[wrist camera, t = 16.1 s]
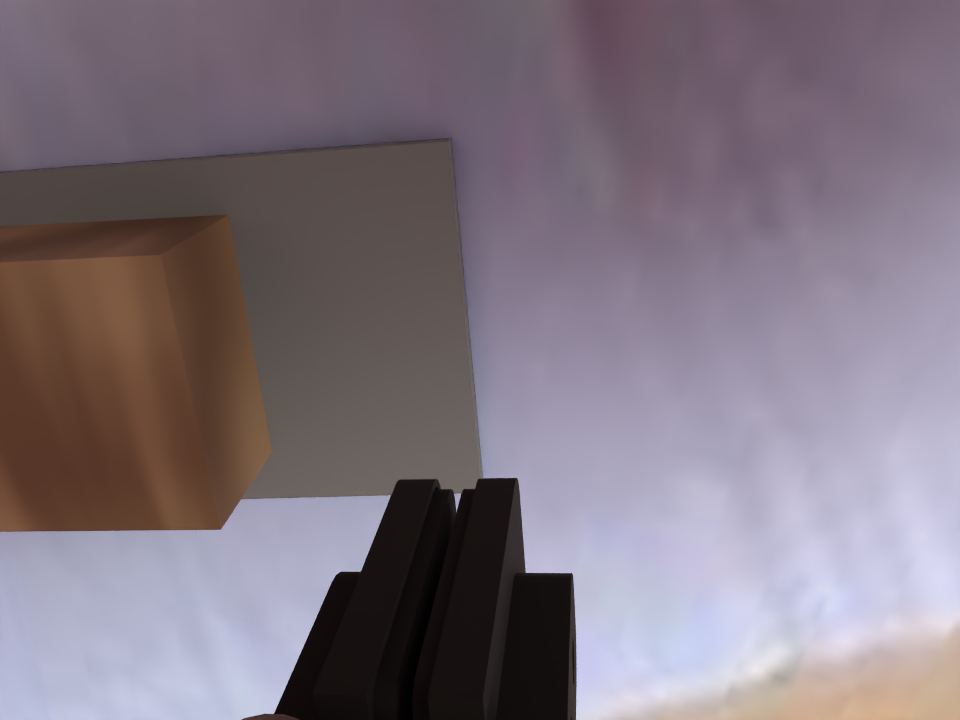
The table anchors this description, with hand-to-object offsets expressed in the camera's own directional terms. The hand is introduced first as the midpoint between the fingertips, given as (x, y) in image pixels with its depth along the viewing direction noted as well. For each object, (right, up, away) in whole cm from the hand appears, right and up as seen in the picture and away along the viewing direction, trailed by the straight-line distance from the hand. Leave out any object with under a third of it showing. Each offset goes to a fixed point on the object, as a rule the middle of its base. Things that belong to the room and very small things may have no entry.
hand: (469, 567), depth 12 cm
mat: (-9, +4, +12) cm, 16 cm away
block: (-6, +3, +9) cm, 12 cm away
